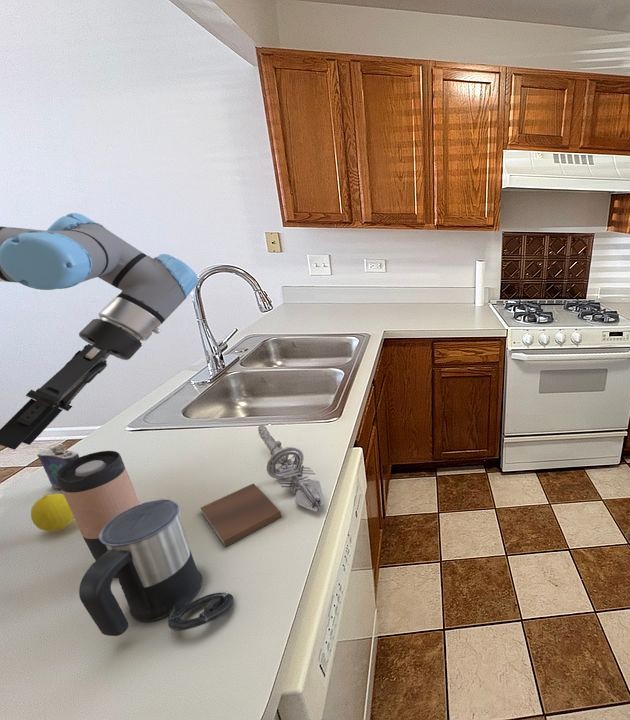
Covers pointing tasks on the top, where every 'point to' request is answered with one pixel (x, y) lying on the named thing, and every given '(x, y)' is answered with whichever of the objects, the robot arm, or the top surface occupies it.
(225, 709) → the top surface
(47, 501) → the lemon
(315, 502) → the spaceship
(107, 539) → the milk frother
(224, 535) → the serving board
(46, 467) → the flask
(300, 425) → the top surface
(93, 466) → the travel mug
